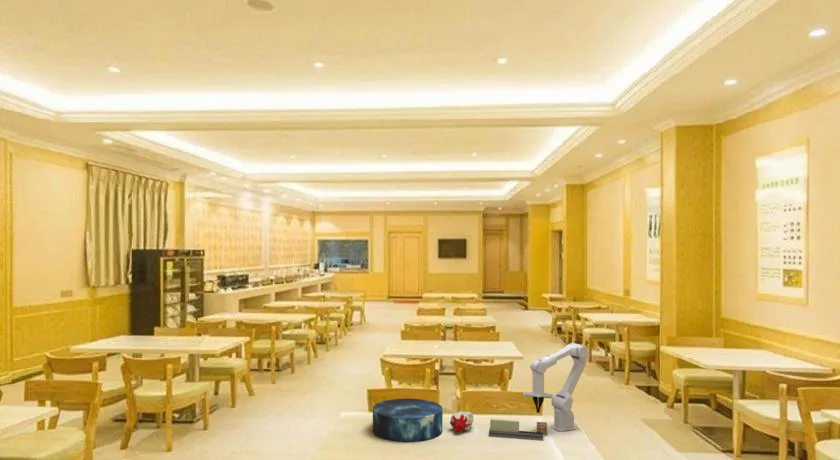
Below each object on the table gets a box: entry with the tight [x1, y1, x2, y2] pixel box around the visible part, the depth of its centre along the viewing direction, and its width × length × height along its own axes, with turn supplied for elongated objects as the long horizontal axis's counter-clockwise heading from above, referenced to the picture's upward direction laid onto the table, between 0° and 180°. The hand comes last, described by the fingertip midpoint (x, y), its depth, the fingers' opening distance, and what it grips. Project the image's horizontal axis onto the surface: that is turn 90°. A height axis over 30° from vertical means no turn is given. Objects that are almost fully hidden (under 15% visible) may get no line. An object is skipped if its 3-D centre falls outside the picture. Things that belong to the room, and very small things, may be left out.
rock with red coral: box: [449, 411, 474, 433], centre depth 288 cm, size 9×11×15 cm
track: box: [488, 428, 544, 441], centre depth 280 cm, size 26×7×2 cm, turn 79°
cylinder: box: [372, 397, 444, 443], centre depth 288 cm, size 35×35×12 cm
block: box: [536, 421, 548, 437], centre depth 285 cm, size 5×5×5 cm
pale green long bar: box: [489, 418, 520, 433], centre depth 282 cm, size 14×2×6 cm, turn 79°
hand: (538, 412), depth 288 cm, fingers closed
